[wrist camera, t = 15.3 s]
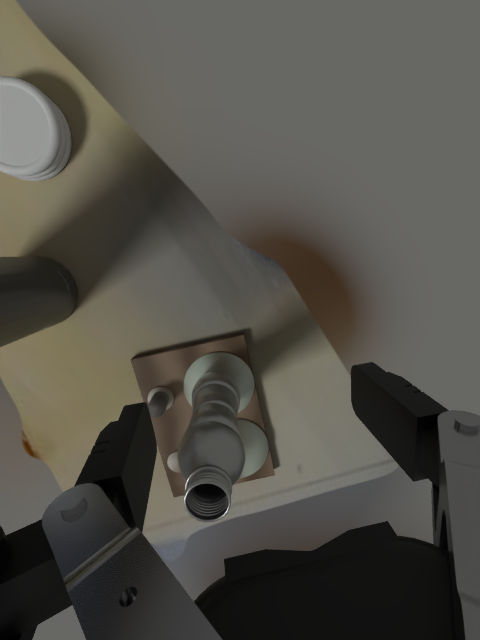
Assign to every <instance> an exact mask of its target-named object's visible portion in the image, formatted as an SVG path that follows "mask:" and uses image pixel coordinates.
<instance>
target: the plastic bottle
mask: <svg viewBox="0 0 480 640" xmlns="http://www.w3.org/2000/svg"><path fill="white" fill-rule="evenodd" d="M240 397H241V395H240V390H239V388H238V386H237V384H236V382H235V381H234V379H233V378H232V377H231V376H229V375H228V374H226V373H224V372H220V371H212V372H208V373H206V374H204V375H202V376H201V377H200V378H199V379H198V381H197V382H196V384H195V385H194V387H193V390H192V406H193V407H192V416H191V419H190V423H189V426H188V428H187V430H186V432H185V434H184V436H183V438H182V440H181V442H180V445H179V448H178V453H177V457H178V465H179V469H180V473H181V475H182V477H183V478H184V479H185V481H186V484H185V496H184V505H185V508H186V510H187V512H188V513H189V515H191V516H192V517H193V518H195V519H196V520H199V521H202V522H213V521H217V520H219V519H221V518H222V517H224V516H225V515H226V514H227V512H228V510H229V508H230V504H231V494H232V486H233V485H234V484H235V483H236V482H237V480H238V479H239V478H240V476H241V474H242V471H243V468H244V464H245V450H244V445H243V442H242V438H241V435H240V432H239V428H238V421H237V415H238V409H239V405H240Z"/></svg>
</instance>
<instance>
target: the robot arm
mask: <svg viewBox="0 0 480 640" xmlns="http://www.w3.org/2000/svg"><path fill="white" fill-rule="evenodd" d="M76 302H77V289H76V285H75V282H74V280H73V278H72V276H71V275H70V274H69V272H68V271H67V270H66V269H65V268H64V267H63V266H62V265H60V264H59V263H57V262H56V261H53V260H51V259H48V258H44V257H0V347H2V346H4V345H7V344H9V343H12V342H14V341H17V340H19V339H21V338H24V337H26V336H29V335H31V334H34V333H36V332H38V331H41V330H44V329H46V328H48V327H51V326H53V325H56V324H58V323H60V322H62V321H64V320H65V319H67V318H68V317H69V316H70V315H71V313H72V312H73V310H74V308H75V306H76ZM351 402H352V406H353V410H354V412H355V414H356V415H357V417H358V418H359V419H360V420H361V421H362V423H363V424H364V425H365V426H366V427H367V428H368V430H369V431H370V432H371V433H372V434H373V435H374V436H375V438H376V439H377V440H378V441H379V442H380V443H381V445H382V446H383V447H384V448H385V449H386V450H387V452H388V453H389V454H390V455H391V456H392V457H393V459H394V460H395V461H396V462H397V463H398V464H399V465H400V467H401V468H402V469H403V470H404V471H405V472H406V474H407V475H408V476H409V477H410V478H411V479H412V481H418V480H423V479H427V478H428V479H429V480H430V481H431V482H432V489H431V497H432V523H433V544H431V543H428V542H425V541H422V540H418V539H415V538H410V537H404V536H397V535H396V533H395V532H394V530H393V529H392V527H391V526H390V524H389V523H388V521H386V522H382V523H377V524H373V525H369V526H364V527H360V528H356V529H352V530H348V531H347V532H345V533H343V534H341V535H340V536H338V537H336V538H335V539H333V540H331V541H329V542H328V543H326V544H324V545H322V546H321V547H319V548H317V549H315V550H313V551H291V550H267V549H265V550H261V551H257V552H253V553H248V554H244V555H240V556H235V557H231V558H227V559H224V564H225V576H224V577H222V578H220V579H219V580H217V581H216V582H214V583H213V584H212V585H210V586H209V587H208V588H207V589H206V590H205V591H204V592H202V593H201V594H200V595H199V596H198V598H197V599H196V600H195V601H193V600H192V599H191V597H190V596H189V595H188V593H187V592H186V591H185V589H184V588H183V587H182V586H181V584H180V583H179V581H178V580H177V579H176V578H175V576H174V575H173V573H172V572H171V571H170V570H169V568H168V567H167V566H166V564H165V563H164V562H163V560H162V559H161V558H160V556H159V555H158V554H157V552H156V551H155V550H154V548H153V547H152V546H151V544H150V543H149V542H148V540H147V539H146V538H145V536H144V535H143V534H142V530H143V525H144V520H145V514H146V509H147V503H148V498H149V492H150V487H151V481H152V476H153V471H154V465H155V460H156V454H157V443H156V437H155V432H154V428H153V424H152V420H151V416H150V412H149V408H148V405H147V403H146V402H143V403H137V404H131V405H126V406H124V408H123V410H122V412H121V415H120V417H119V420H118V421H114V422H110V423H109V424H108V425H107V426H106V427H105V428H104V429H103V430H102V431H101V432H100V434H99V436H98V438H97V440H96V442H95V445H94V446H93V449H92V451H91V455H89V457H88V459H87V461H86V463H85V465H84V467H83V469H82V471H81V473H80V475H79V478H78V480H77V482H76V484H75V486H74V487H72V488H70V489H68V490H67V491H65V492H63V493H62V494H61V495H59V496H58V497H57V498H56V499H55V500H54V501H53V502H52V503H51V504H50V505H49V506H48V508H47V509H46V510H45V512H44V514H43V517H42V519H41V520H39V521H37V522H35V523H33V524H31V525H28V526H26V527H24V528H22V529H19V530H17V531H15V532H13V533H10V534H8V535H5V533H4V531H3V529H2V527H1V526H0V640H32V638H33V636H34V633H35V630H36V628H37V625H38V624H40V623H42V622H43V621H45V620H47V619H49V618H50V617H52V616H54V615H56V614H57V613H59V612H61V611H63V610H64V609H66V608H68V607H69V606H71V605H73V607H74V609H75V612H76V615H77V617H78V620H79V623H80V625H81V628H82V630H83V633H84V635H85V638H86V640H480V416H479V415H476V414H473V413H470V412H465V411H455V410H454V411H449V410H447V409H446V408H444V407H443V406H442V405H440V404H439V403H438V402H436V401H435V400H433V399H432V398H431V397H429V396H428V395H426V394H425V393H424V392H421V391H420V390H419V389H418V388H417V387H415V386H412V384H411V383H410V382H408V381H407V380H405V379H404V378H403V377H400V376H398V375H395V374H392V373H390V372H385V371H384V370H383V369H381V368H380V367H379V366H377V365H376V364H375V363H373V362H370V363H364V364H359V365H354V366H352V369H351Z"/></svg>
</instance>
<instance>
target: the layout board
mask: <svg viewBox="0 0 480 640" xmlns="http://www.w3.org/2000/svg"><path fill="white" fill-rule="evenodd" d="M131 363H132V366H133V369H134V372H135V375H136V379H137V382H138V385H139V388H140V391H141V394H142V398H143V401H144V402H146V403H147V405H148V408H149V412H150V416H151V420H152V424H153V428H154V432H155V437H156V442H157V445H158V448H159V452H160V455H161V458H162V461H163V464H164V467H165V471H166V474H167V477H168V480H169V483H170V486H171V490H172V493H173V496H174V497H178V496H182V495H185V484H186V481H185V479H184V478H183V477H182V475H181V473H180V469H179V465H178V457H177V453H178V448H179V445H180V442H181V440H182V438H183V436H184V434H185V432H186V430H187V428H188V426H189V423H190V419H191V416H192V407H193V406H192V390H193V387H194V385H195V384H196V382H197V381H198V379H199V378H200V377H201V376H202V375H204V374H206V373H208V372H212V371H220V372H224V373H226V374H228V375H229V376H231V377H232V378H233V379H234V381H235V382H236V384H237V386H238V388H239V390H240V395H241V397H240V405H239V409H238V415H237V421H238V428H239V432H240V435H241V438H242V442H243V445H244V450H245V464H244V468H243V471H242V474H241V476H240V478H239V479H238V480H237V482H236V483H235V484H237V483H241V482H246V481H251V480H255V479H260V478H264V477H269V476H273V475H275V473H274V468H273V464H272V459H271V455H270V450H269V446H268V441H267V437H266V432H265V428H264V423H263V419H262V414H261V410H260V405H259V401H258V396H257V392H256V387H255V382H254V378H253V373H252V369H251V364H250V360H249V355H248V351H247V346H246V342H245V337H244V333H240V334H235V335H231V336H226V337H222V338H217V339H213V340H208V341H204V342H199V343H194V344H190V345H185V346H181V347H176V348H172V349H167V350H163V351H158V352H154V353H149V354H145V355H140V356H136V357H133V358H132V359H131Z"/></svg>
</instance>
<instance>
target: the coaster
mask: <svg viewBox="0 0 480 640" xmlns="http://www.w3.org/2000/svg"><path fill="white" fill-rule="evenodd" d="M71 144H72V142H71V133H70V129H69V126H68V123H67V121H66V119H65V117H64V115H63V113H62V111H61V110H60V109H59V107H58V106H57V105H56V104H55V103H54V102H53V101H52V100H51V99H49V98H48V97H47V96H46V95H45V94H44V93H43V92H42V91H40V90H39V89H38V88H37V87H35V86H34V85H32V84H31V83H29V82H27V81H24V80H22V79H19V78H15V77H10V76H0V171H1V172H3V173H6V174H9V175H11V176H14V177H17V178H20V179H23V180H27V181H42V180H47V179H50V178H52V177H54V176H55V175H57V174H58V173H59V172H60V171H61V170H62V169H63V168H64V167H65V165H66V163H67V161H68V159H69V156H70V153H71Z"/></svg>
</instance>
